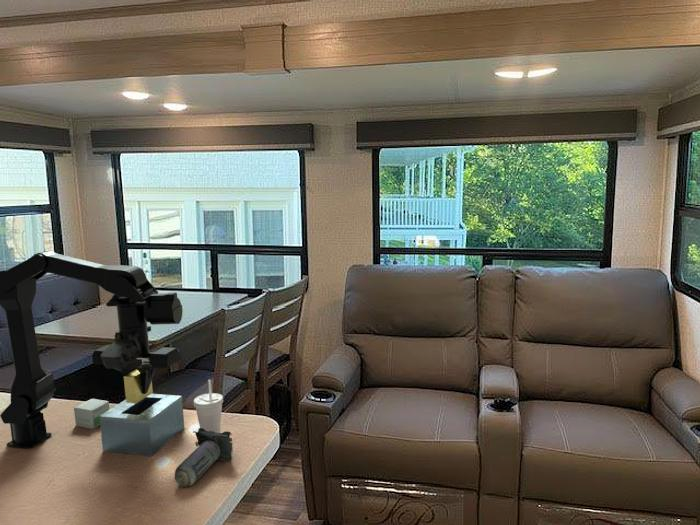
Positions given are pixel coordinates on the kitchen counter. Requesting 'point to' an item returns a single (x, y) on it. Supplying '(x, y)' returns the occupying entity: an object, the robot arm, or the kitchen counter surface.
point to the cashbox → (142, 424)
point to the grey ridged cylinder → (204, 456)
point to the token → (135, 387)
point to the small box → (90, 413)
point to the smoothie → (209, 410)
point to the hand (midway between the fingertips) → (139, 393)
